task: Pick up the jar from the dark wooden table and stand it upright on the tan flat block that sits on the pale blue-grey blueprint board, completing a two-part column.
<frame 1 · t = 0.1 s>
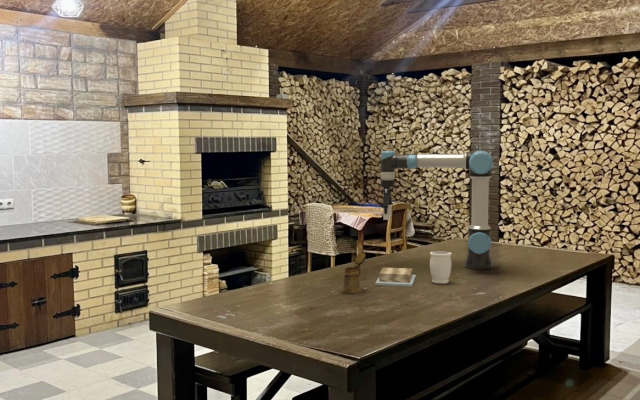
hand: (387, 218, 366), 28 cm above the table, fingers open, 13 cm apart
jar: (440, 282, 335), on the table
blueprint board: (395, 281, 338), on the table
wooden mug: (354, 291, 318), on the table
tan flat block: (396, 274, 337), on the blueprint board, point 3 cm above the table
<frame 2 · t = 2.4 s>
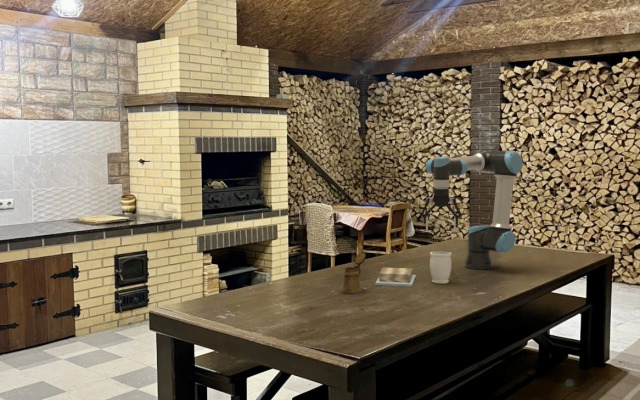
hand: (440, 230, 332), 26 cm above the table, fingers open, 13 cm apart
nothing on the table moved.
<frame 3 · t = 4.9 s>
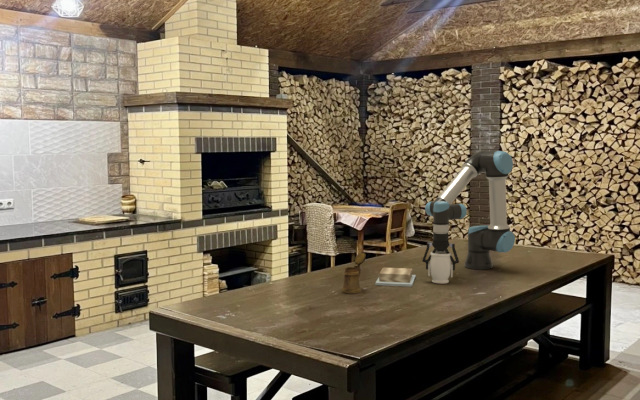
hand: (440, 276, 334), 3 cm above the table, fingers closed on jar, 10 cm apart
jar: (440, 282, 335), on the table, touching gripper
everything else where it was.
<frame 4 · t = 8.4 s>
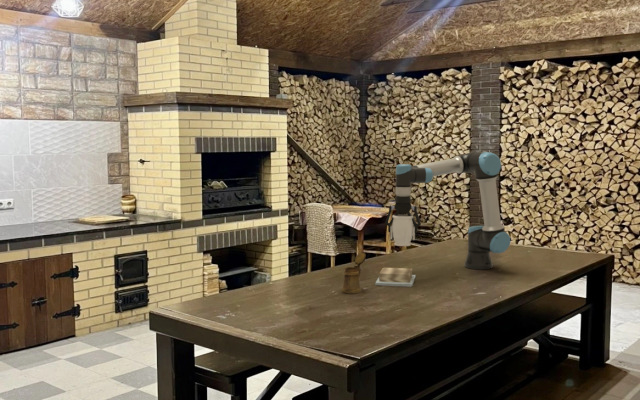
hand: (402, 239, 335), 21 cm above the table, fingers closed on jar, 10 cm apart
jar: (402, 245, 335), point 18 cm above the table, touching gripper
everything else where it was.
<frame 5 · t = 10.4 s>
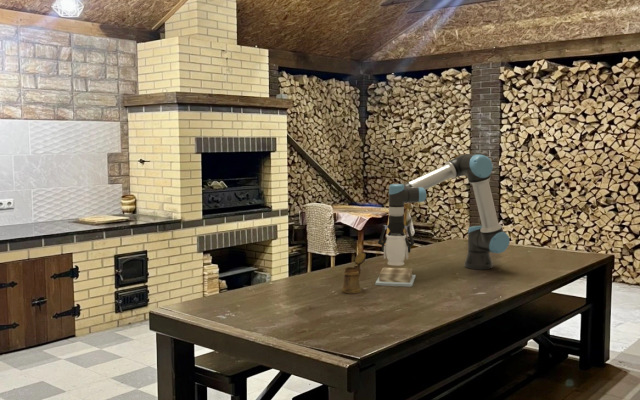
hand: (396, 258, 336), 12 cm above the table, fingers closed on jar, 10 cm apart
jar: (395, 264, 337), point 8 cm above the table, touching gripper
everything else where it was.
when the fingers open (9 cm above the table, at t = 11.8 s): jar drops 1 cm, resting on tan flat block.
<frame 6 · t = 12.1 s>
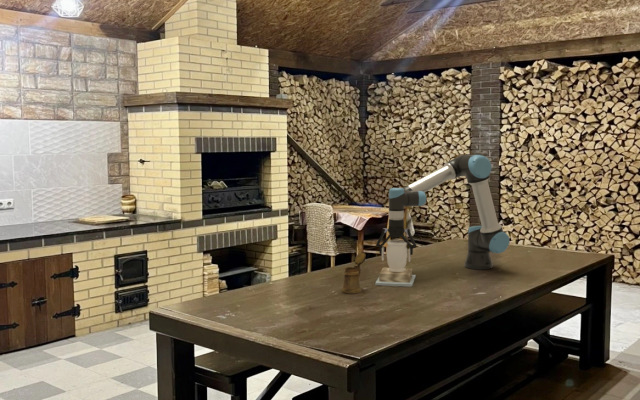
hand: (396, 260, 337), 10 cm above the table, fingers open, 13 cm apart
jar: (396, 271, 337), point 5 cm above the table, touching tan flat block
everything else where it was.
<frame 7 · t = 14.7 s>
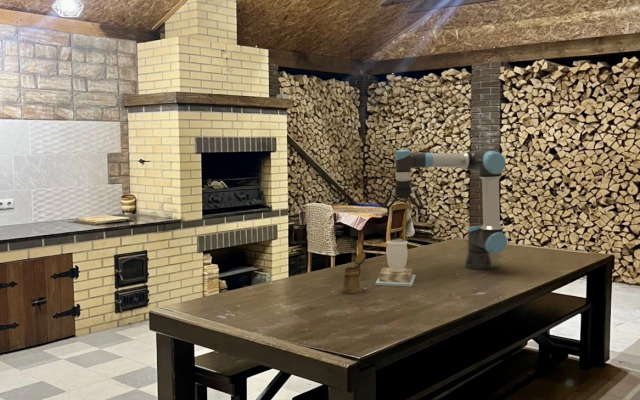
hand: (403, 221, 342), 29 cm above the table, fingers open, 13 cm apart
nothing on the table moved.
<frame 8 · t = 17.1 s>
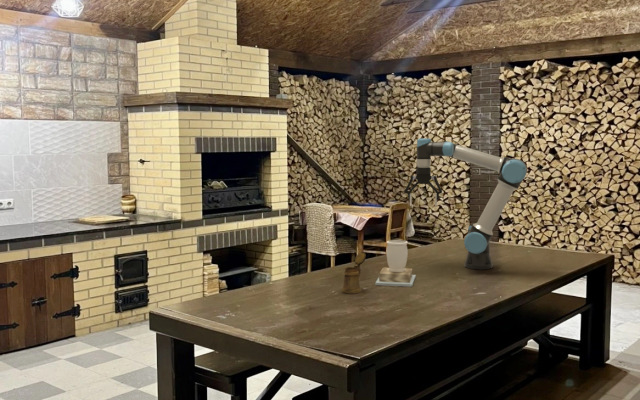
hand: (423, 205, 365), 35 cm above the table, fingers open, 13 cm apart
nothing on the table moved.
at the end: jar inside the target area on the tan flat block (0.4 cm from its centre), point 5.0 cm above the tan flat block's base; jar tilted 0°; the gripper is holding nothing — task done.
